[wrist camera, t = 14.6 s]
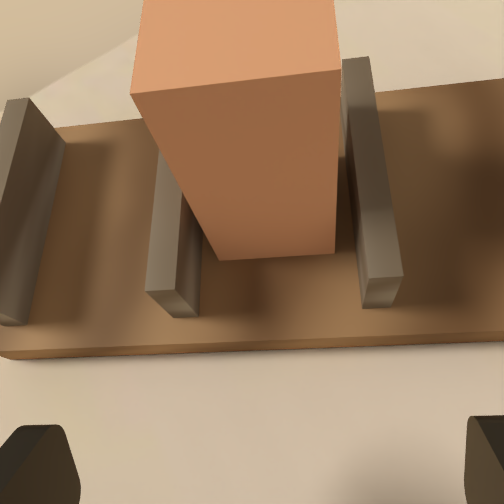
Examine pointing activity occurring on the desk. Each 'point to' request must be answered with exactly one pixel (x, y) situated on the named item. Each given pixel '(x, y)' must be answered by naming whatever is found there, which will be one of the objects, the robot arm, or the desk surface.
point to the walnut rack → (260, 269)
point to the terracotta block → (246, 118)
